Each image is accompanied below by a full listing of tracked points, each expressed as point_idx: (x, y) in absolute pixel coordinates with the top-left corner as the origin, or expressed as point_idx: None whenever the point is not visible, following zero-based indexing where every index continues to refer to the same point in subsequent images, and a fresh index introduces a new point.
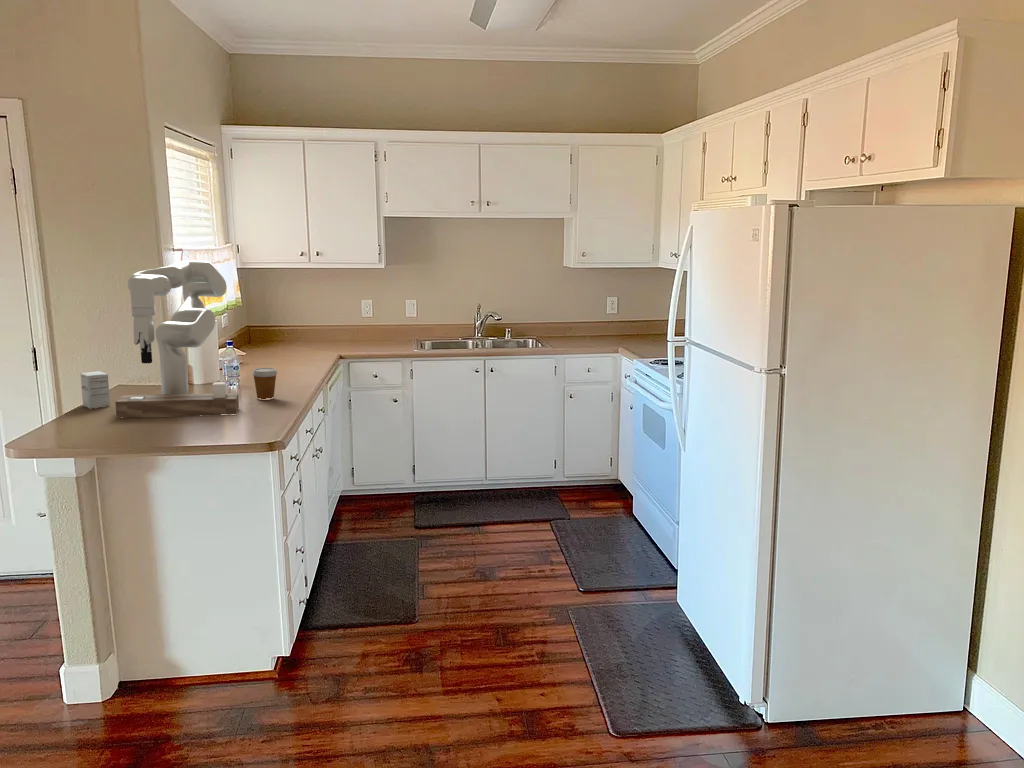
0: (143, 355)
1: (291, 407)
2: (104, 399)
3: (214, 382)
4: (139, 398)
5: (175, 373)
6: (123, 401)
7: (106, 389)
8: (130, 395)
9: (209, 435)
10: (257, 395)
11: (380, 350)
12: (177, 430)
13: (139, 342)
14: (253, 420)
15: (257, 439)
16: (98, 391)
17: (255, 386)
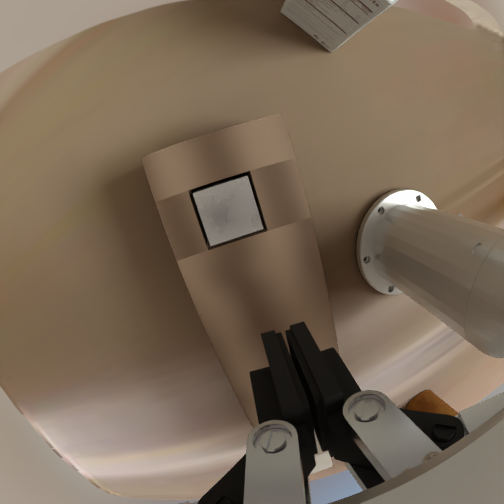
0: (257, 413)
1: (341, 465)
2: (326, 31)
3: (327, 453)
4: (218, 228)
5: (440, 311)
6: (152, 188)
7: (349, 23)
8: (284, 150)
9: (91, 441)
10: (418, 403)
11: None
12: (90, 389)
13: (448, 448)
14: (225, 467)
15: (110, 484)
16: (323, 4)
17: (432, 411)
